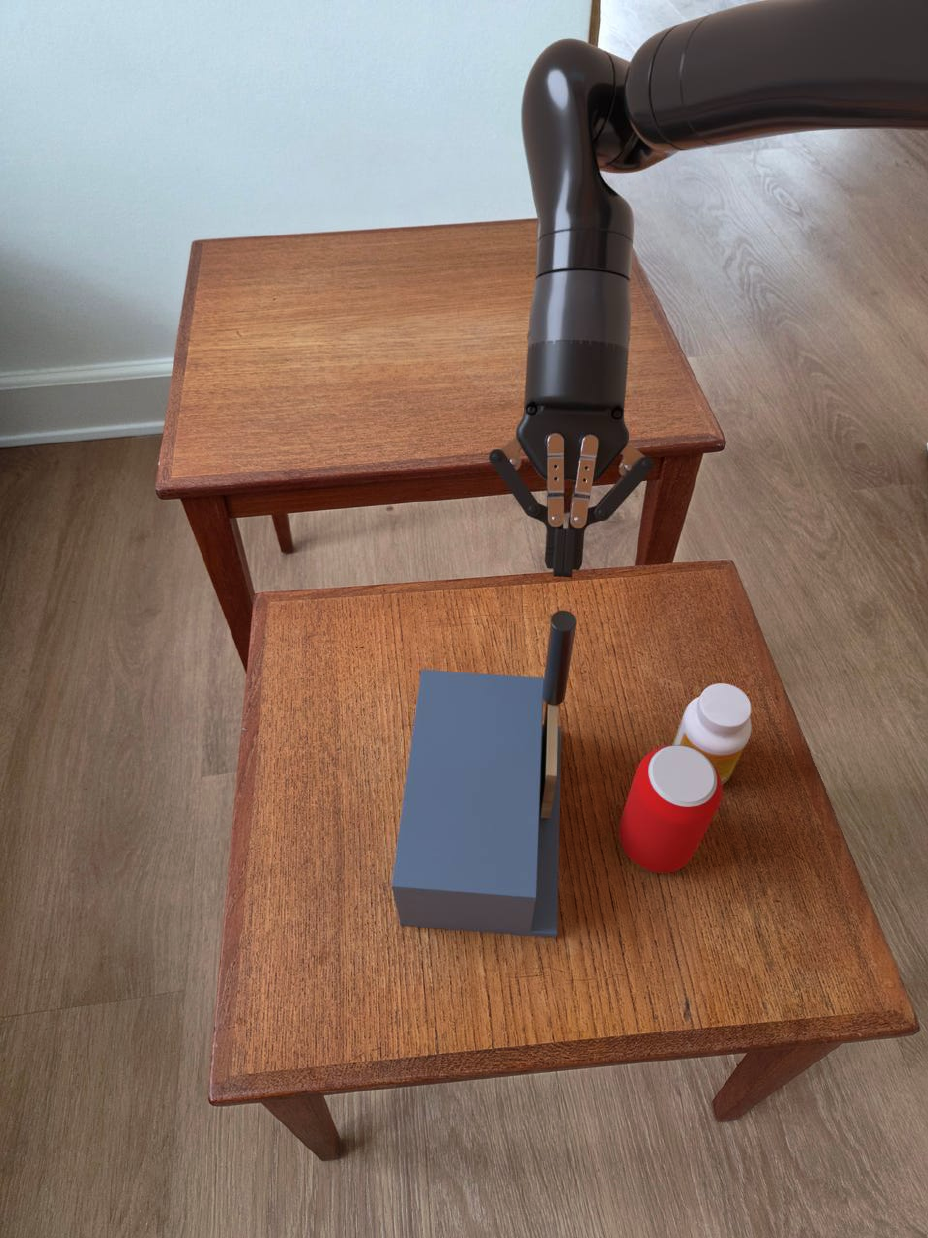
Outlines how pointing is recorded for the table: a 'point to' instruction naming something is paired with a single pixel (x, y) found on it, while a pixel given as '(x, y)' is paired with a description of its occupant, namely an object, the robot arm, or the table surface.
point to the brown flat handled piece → (554, 699)
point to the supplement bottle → (717, 726)
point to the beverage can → (669, 808)
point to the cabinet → (478, 809)
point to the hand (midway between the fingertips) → (562, 576)
